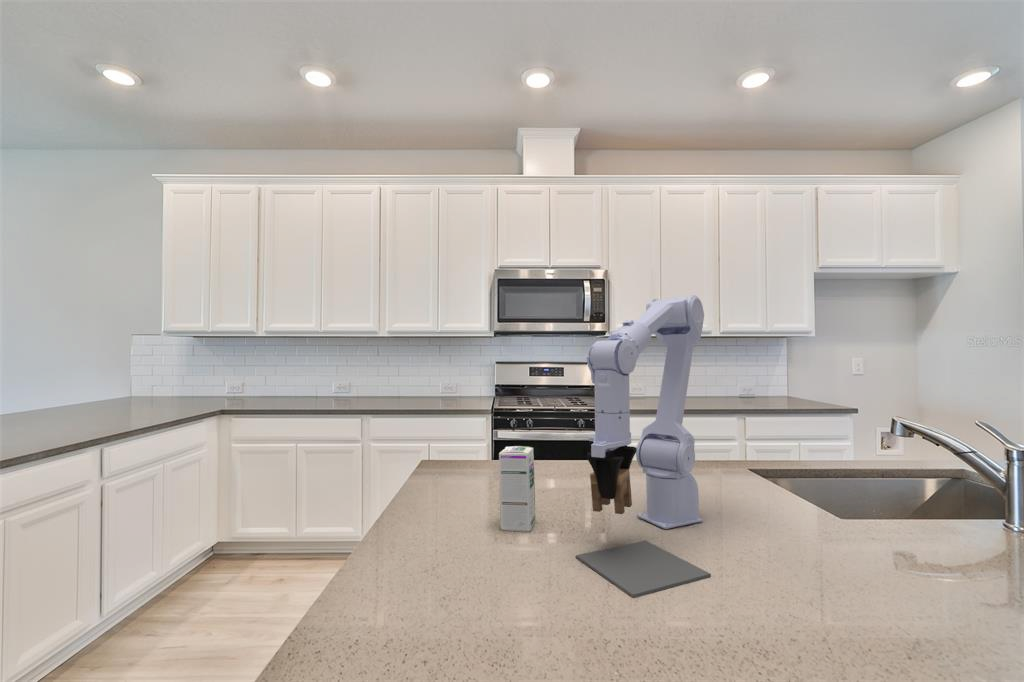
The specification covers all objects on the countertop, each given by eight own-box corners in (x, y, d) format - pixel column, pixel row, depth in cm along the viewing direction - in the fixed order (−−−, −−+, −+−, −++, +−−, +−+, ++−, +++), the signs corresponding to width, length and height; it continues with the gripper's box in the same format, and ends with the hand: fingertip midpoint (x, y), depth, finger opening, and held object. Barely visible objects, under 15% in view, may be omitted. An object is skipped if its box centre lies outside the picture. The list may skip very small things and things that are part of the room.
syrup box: (530, 532, 87) (530, 452, 88) (499, 530, 89) (498, 451, 89) (535, 521, 93) (534, 446, 93) (505, 519, 94) (505, 445, 95)
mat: (645, 542, 82) (645, 540, 82) (710, 576, 69) (710, 573, 69) (575, 557, 76) (575, 555, 76) (632, 597, 64) (632, 594, 64)
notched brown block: (632, 505, 81) (629, 469, 81) (622, 514, 77) (619, 476, 77) (603, 502, 84) (601, 467, 84) (592, 511, 79) (590, 474, 80)
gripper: (604, 406, 89) (604, 480, 88) (572, 414, 76) (573, 501, 76) (642, 408, 85) (643, 485, 85) (616, 417, 73) (617, 508, 72)
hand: (613, 493), depth 80 cm, fingers closed on notched brown block, 5 cm apart
